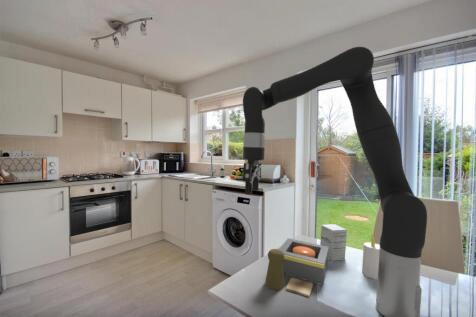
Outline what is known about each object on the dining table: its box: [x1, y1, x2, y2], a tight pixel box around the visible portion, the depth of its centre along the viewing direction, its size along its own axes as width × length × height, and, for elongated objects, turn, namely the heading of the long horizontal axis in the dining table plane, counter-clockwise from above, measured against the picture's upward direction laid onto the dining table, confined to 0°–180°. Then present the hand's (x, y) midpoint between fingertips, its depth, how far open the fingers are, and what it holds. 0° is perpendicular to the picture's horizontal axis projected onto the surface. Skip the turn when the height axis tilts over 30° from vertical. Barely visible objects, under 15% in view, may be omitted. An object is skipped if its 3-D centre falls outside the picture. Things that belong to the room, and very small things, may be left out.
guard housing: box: [278, 237, 329, 286], centre depth 85 cm, size 16×17×7 cm
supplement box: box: [319, 223, 348, 262], centre depth 96 cm, size 7×7×13 cm
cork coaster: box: [285, 276, 314, 298], centre depth 72 cm, size 7×7×1 cm
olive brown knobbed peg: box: [264, 248, 285, 291], centre depth 73 cm, size 6×6×11 cm
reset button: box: [293, 246, 315, 258], centre depth 85 cm, size 8×8×3 cm
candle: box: [361, 233, 380, 280], centre depth 83 cm, size 6×6×15 cm
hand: (251, 192), depth 81 cm, fingers open, 8 cm apart
